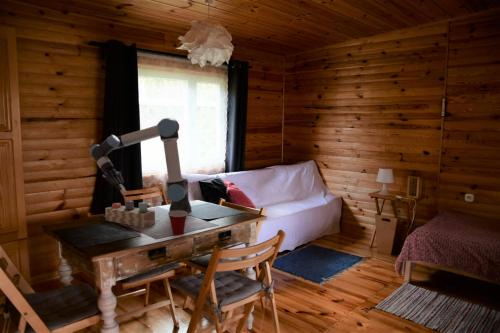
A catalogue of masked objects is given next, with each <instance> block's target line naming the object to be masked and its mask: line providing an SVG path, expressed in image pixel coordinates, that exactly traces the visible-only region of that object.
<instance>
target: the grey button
mask: <svg viewBox="0 0 500 333" xmlns="http://www.w3.org/2000/svg"><path fill="white" fill-rule="evenodd" d="M124 206H125V210H133V209H134V208H135V206H134V200H124Z"/></svg>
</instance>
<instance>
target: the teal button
mask: <svg viewBox="0 0 500 333" xmlns="http://www.w3.org/2000/svg"><path fill="white" fill-rule="evenodd" d="M138 208H139V212H147V211H148V210H149V209H148V202H146V201H145V202H138Z"/></svg>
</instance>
